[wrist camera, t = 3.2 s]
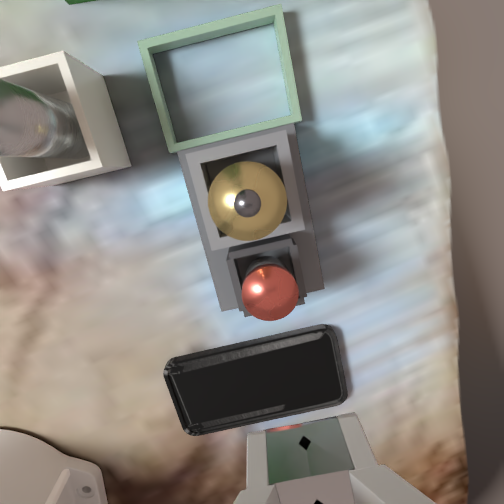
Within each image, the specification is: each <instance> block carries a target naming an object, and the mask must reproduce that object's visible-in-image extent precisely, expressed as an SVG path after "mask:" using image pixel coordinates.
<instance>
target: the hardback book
mask: <svg viewBox="0 0 504 504" xmlns="http://www.w3.org/2000/svg"><path fill="white" fill-rule="evenodd" d="M65 1H66V2H67V3H68V4H69V5H70V4H76V3H83V2H90V1H96V0H65Z"/></svg>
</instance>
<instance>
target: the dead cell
mask: <svg viewBox="0 0 504 504" xmlns="http://www.w3.org/2000/svg"><path fill="white" fill-rule="evenodd" d="M88 155H90V154H89V152H88V149H87V146H86V143H85V140H84V137H83V134H82V131H81V129H80V126H79V123H78V120H77V117H76V114H75V111H74V108H73V106H72V104H71V103H68V102H65V101H62V100H59V99H56V98H54V97H51V96H48V95H45V94H42V93H39V92H36V91H34V90H31V89H28V88H25V87H22V86H19V85H16V84H14V83H11V82H8V81H5V80H2V79H0V156H4V157H33V158H62V159H81V158H84V157H87V156H88Z"/></svg>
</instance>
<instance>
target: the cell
mask: <svg viewBox="0 0 504 504" xmlns="http://www.w3.org/2000/svg"><path fill="white" fill-rule="evenodd" d="M286 207H287V195H286V190H285V187H284V185H283V183H282V181H281V179H280V178H279V177H278V175H277V174H276V173H275V172H274V171H273V170H271V169H270V168H269V167H267V166H265V165H263V164H260V163H257V162H251V161H243V162H237V163H234V164H232V165H230V166H228V167H226V168H225V169H223V170H222V171H221V172H220V173H219V174H218V175H217V176H216V177H215V179H214V180H213V182H212V184H211V187H210V189H209V194H208V208H209V213H210V216H211V218H212V220H213V222H214V223H215V225H216V226H217V227H218V228H219V229H220V230H221V231H222V232H223V233H224V234H226V235H227V236H229V237H231V238H234V239H237V240H241V241H253V240H258V239H261V238H263V237H266V236H267V235H269V234H271V233H272V232H273V231H274V230H275V229H276V228H277V227H278V226H279V224H280V223H281V221H282V220H283V218H284V215H285V212H286Z"/></svg>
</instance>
